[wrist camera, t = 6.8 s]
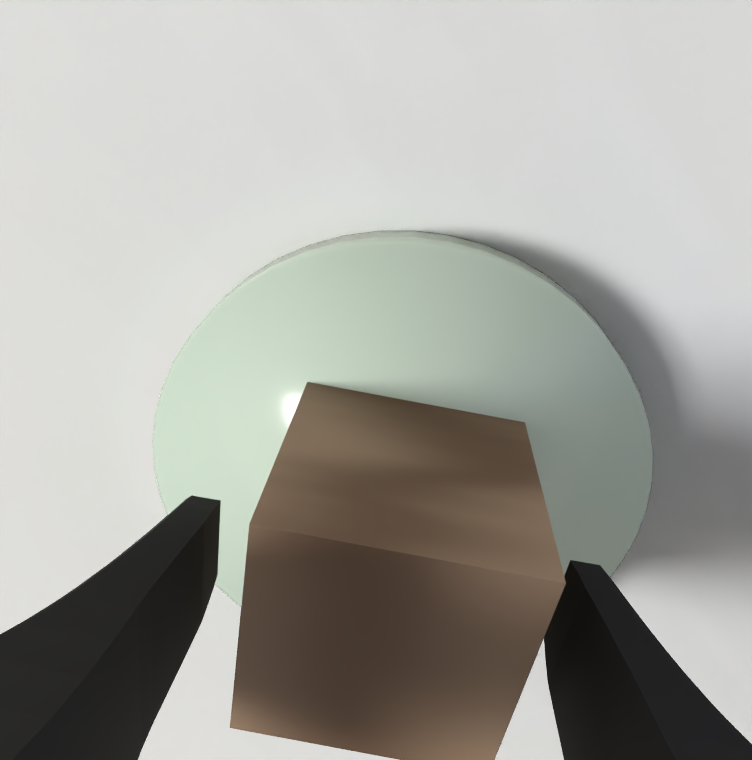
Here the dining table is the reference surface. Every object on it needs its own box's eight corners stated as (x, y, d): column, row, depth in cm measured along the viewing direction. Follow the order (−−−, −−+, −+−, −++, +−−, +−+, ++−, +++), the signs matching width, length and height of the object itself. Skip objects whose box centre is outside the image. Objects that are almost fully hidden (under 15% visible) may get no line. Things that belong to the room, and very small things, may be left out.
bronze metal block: (525, 422, 14) (565, 583, 10) (473, 584, 17) (487, 775, 12) (307, 381, 14) (249, 524, 10) (285, 549, 17) (230, 727, 12)
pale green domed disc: (719, 288, 14) (743, 306, 13) (554, 661, 19) (562, 696, 18) (177, 182, 14) (156, 192, 13) (165, 586, 19) (149, 617, 18)
